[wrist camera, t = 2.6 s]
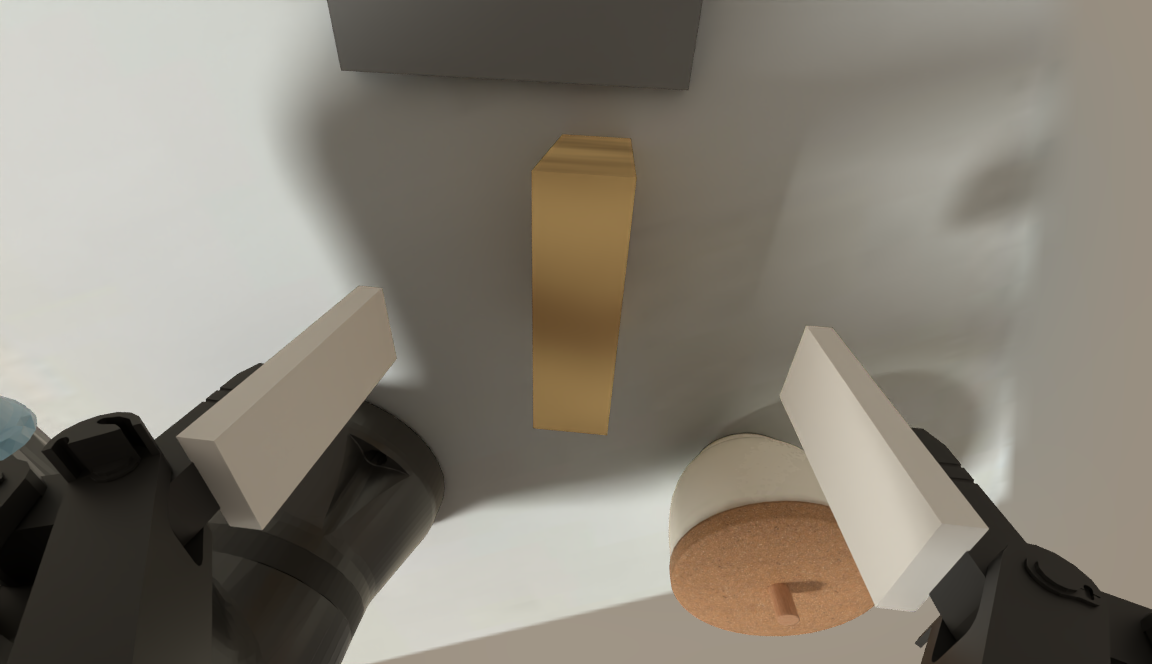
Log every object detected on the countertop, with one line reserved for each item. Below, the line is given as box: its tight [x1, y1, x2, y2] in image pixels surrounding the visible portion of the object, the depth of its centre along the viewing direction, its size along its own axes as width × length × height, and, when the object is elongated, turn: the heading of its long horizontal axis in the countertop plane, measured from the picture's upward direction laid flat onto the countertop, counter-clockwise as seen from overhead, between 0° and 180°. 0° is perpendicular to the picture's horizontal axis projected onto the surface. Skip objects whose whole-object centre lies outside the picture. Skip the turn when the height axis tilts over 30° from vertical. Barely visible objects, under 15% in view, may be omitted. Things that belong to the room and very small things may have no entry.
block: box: [532, 134, 637, 435], centre depth 18 cm, size 10×3×8 cm, turn 177°
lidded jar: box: [669, 433, 875, 636], centre depth 25 cm, size 11×11×9 cm
